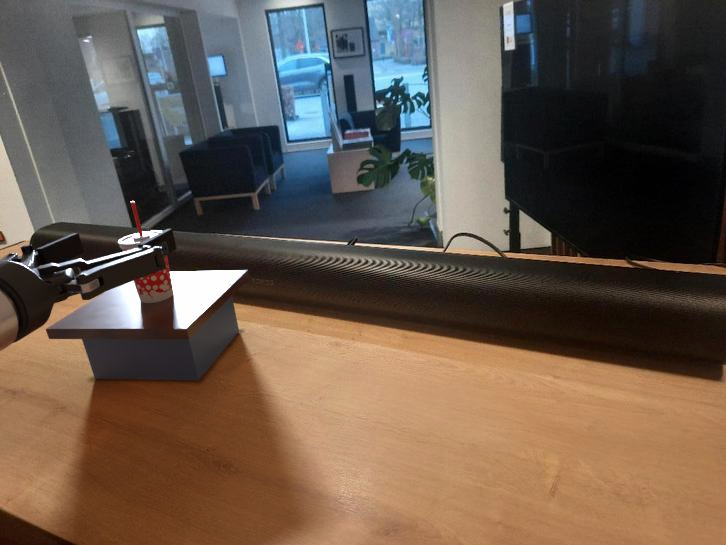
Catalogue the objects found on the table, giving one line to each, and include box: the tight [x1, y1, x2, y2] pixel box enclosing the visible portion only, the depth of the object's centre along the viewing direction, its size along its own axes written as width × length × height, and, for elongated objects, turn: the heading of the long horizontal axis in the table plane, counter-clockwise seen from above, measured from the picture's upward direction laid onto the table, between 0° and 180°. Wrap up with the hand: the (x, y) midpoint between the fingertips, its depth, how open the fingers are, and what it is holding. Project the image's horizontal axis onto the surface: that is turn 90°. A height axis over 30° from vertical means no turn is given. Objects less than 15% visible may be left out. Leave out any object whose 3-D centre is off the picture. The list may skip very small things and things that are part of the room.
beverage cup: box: [117, 200, 174, 303], centre depth 69 cm, size 6×6×14 cm
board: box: [45, 269, 250, 340], centre depth 72 cm, size 20×20×2 cm
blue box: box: [81, 295, 240, 381], centre depth 73 cm, size 16×14×8 cm
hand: (124, 240), depth 65 cm, fingers open, 13 cm apart
